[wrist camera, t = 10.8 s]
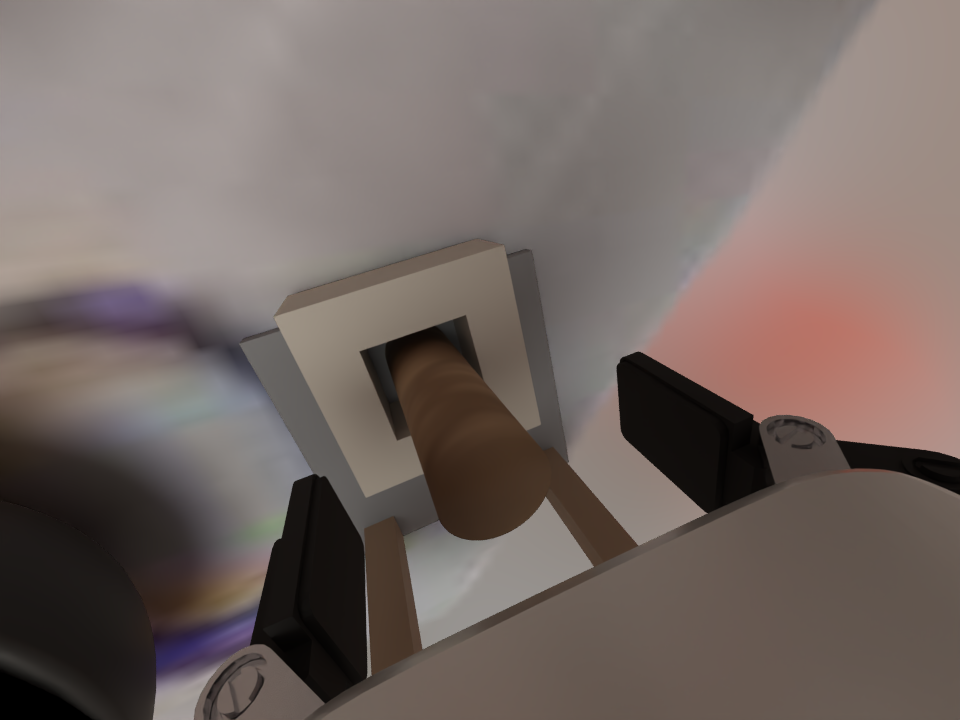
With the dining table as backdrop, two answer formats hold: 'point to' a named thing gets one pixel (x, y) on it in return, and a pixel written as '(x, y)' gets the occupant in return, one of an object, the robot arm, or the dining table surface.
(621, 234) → the dining table surface
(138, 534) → the dining table surface
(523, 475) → the peg
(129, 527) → the dining table surface
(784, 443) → the robot arm
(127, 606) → the coal bowl
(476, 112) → the dining table surface
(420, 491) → the socket station
